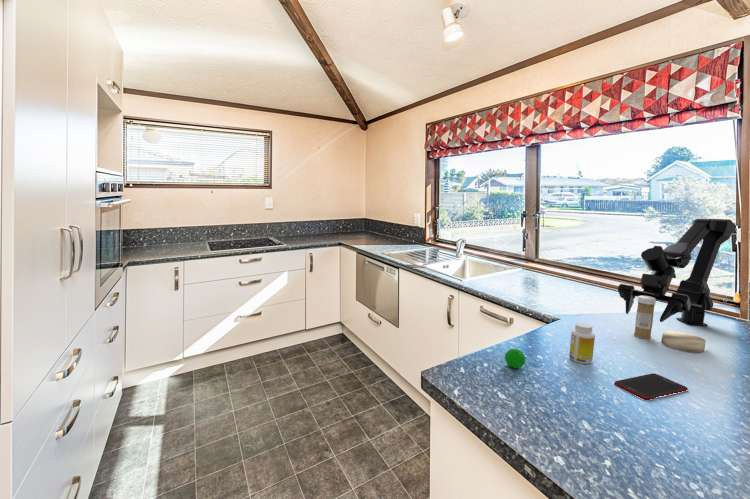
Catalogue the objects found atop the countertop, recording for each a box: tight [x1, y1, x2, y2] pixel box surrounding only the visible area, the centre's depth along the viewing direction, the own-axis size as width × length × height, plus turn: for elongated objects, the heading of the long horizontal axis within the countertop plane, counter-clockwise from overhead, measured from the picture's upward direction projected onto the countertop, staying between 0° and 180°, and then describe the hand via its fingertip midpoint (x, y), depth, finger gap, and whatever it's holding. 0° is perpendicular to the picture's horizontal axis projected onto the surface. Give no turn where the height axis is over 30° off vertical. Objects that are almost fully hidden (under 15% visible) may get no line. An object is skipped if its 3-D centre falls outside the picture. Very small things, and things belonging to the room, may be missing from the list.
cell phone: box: [614, 373, 689, 401], centre depth 83 cm, size 8×15×1 cm, turn 109°
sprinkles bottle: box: [633, 296, 657, 340], centre depth 113 cm, size 5×5×13 cm
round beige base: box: [660, 330, 707, 354], centre depth 106 cm, size 10×10×3 cm
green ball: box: [504, 348, 526, 369], centre depth 92 cm, size 5×5×5 cm
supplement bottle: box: [568, 322, 596, 365], centre depth 96 cm, size 6×6×10 cm
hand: (643, 317), depth 112 cm, fingers open, 9 cm apart
